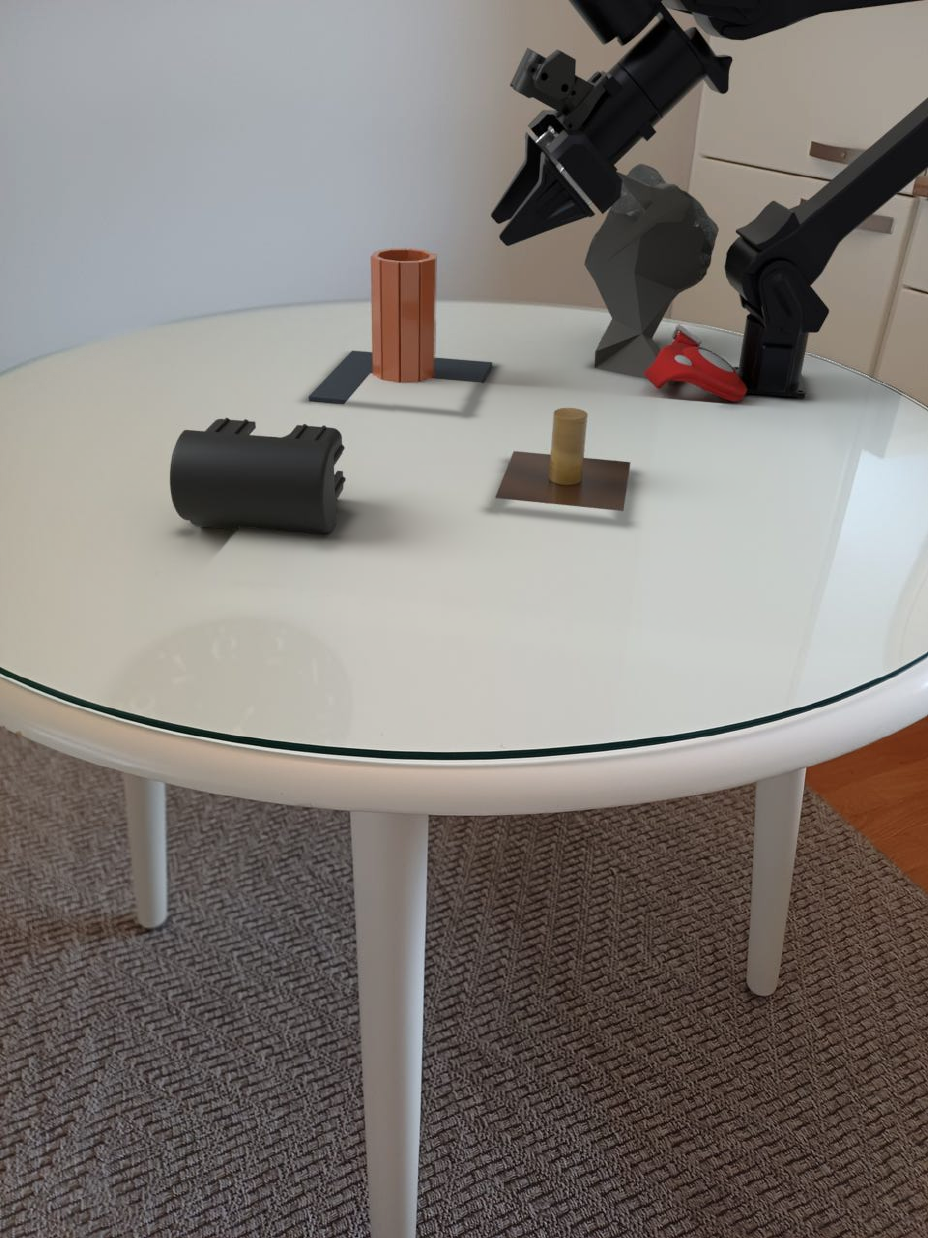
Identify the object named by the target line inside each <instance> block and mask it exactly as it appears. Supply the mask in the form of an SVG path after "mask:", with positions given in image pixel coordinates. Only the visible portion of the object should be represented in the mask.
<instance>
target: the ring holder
mask: <svg viewBox="0 0 928 1238" xmlns="http://www.w3.org/2000/svg"><path fill="white" fill-rule="evenodd" d="M587 425H588V413H587V411H585V410H583V409H580V408H576V407H561V408H557V409H555V410H554V411H553V415H552V430H551V443H550V454H549V453H540V452H539V453H538V452H527V451H519V450H518V451H517V450H514V451H513V452H512V454H511V457H510V458H509V462H508V464H507V467H506V469H505V472H504V473H503V476H502V479H501V481H500V484H499V487H498V489H497V491H496V494H495V496H494V498H495V499H500V500H510V501H511V500H512V501H520V502H528V503H529V502H531V503H539V504H549V505H550V504H551V505H559V506H560V505H561V506H568V507H569V506H570V507H580V508H589V509H601V510H608V511H609V510H610V511H619V512H620V511H621V512H623V511H624V508H625V502H626V495H627V488H628V482H629V474H630V468H631V461H624V460H623V461H621V460H614V459H613V460H611V459H601V458H590V457H585V451H586V450H585V449H586V436H587Z"/></svg>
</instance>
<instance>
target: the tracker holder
mask: <svg viewBox="0 0 928 1238" xmlns="http://www.w3.org/2000/svg"><path fill="white" fill-rule="evenodd" d="M671 339H672V340H673V342H672V343H671V344H668V345H666V346H664V347H663V348H662V349H661V351H660V353H659V354H658V356H657V358H656V360H655V362H654V364H652V365H651V366H650V367H649V368H648V369H647V370H646V371H645V373H644V375H645V377H646V378H647V379H646V380H648V381H649V382H650V383H651V384H652V385H653V387H655V388H656V389H657V390H661V389H662V388H663V387H664V386H665V385H667V384H668V383H667V382H668V381H669V380H672V381H676V382H685V383H690V384H692V385H695V386H697V387H698V388H700V389H702V390H704V391H706V392H708V393H709V394H712V395H715V396H717V397H719V398H721V399H724V400H726V401H730V402H734V403H737V402H742V401H743V400H744V398H745V395H746V394H747V393H746V392H747V388H746V385H745V384H744V382H743V381H742V380H741V379H740V378H739V377H738V375H737V373H736V371H735V370H734V368H733V367H734V366H732V365H731V364H730V363H729V362H728V361H727V360H726V359H724V358H723V357H721V356H720V355H719V354H716V353H715V352H713V351H711V350H709V349H707V348H704V347H701V344H702V343H703V340H702V339H700V338H699V337H697V336H696V335H695V334H693V333H692V332H691V331H689V330H688V329H686V328H685V327H684V326H682V325H681V324H680V323H679V324H677V325H676V327H675V328H674V330H673V333H672V335H671Z"/></svg>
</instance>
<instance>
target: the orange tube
mask: <svg viewBox="0 0 928 1238" xmlns="http://www.w3.org/2000/svg"><path fill="white" fill-rule="evenodd" d="M437 269H438V255H437V254H436V253H435V252H432V251H429V250H426V249H420V248H407V247H398V248H396V247H395V248H393V247H392V248H384V249H380V250H375V251H373V252H372V253H371V255H370V287H371V288H370V294H371V295H370V296H371V298H370V299H371V301H370V302H371V304H370V305H371V352H372V363H373V373H372V375H373V377H376V378H377V379H379V380H382V381H384V382H385V381H386V382H392V383H398V384H399V383H401V384H404V383H405V384H407V383H419V382H421V383H422V382H424V381H428V380H431V379H433V380H434V379H435V366H436V358H437V357H436V355H437V352H436V351H437V347H436V346H437V285H438V283H437V281H438V278H437V277H438V270H437ZM435 380H436V379H435Z"/></svg>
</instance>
